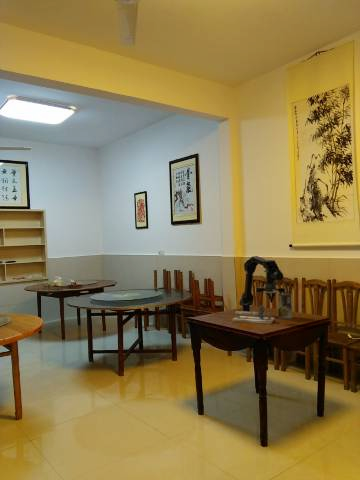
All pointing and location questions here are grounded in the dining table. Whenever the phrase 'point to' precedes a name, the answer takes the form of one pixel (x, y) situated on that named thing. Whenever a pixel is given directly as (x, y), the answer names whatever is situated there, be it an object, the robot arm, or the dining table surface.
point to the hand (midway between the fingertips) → (271, 302)
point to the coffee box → (285, 305)
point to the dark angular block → (261, 312)
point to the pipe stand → (252, 319)
